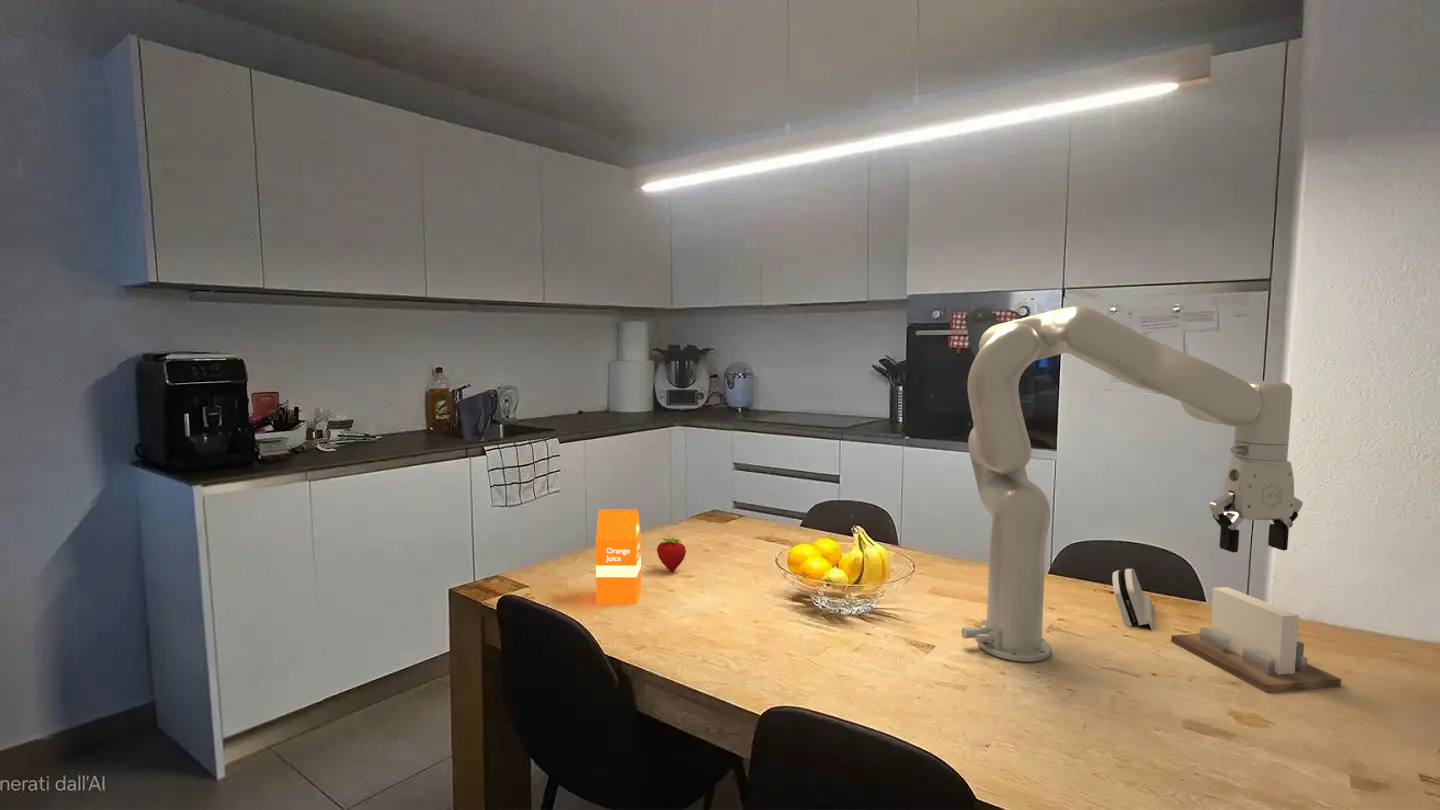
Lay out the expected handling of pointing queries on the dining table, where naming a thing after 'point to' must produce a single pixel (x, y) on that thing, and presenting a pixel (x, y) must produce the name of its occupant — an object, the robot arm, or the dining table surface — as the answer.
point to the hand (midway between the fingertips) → (1253, 549)
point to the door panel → (1256, 627)
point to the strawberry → (671, 553)
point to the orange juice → (618, 557)
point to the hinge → (1132, 599)
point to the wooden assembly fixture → (1254, 663)
